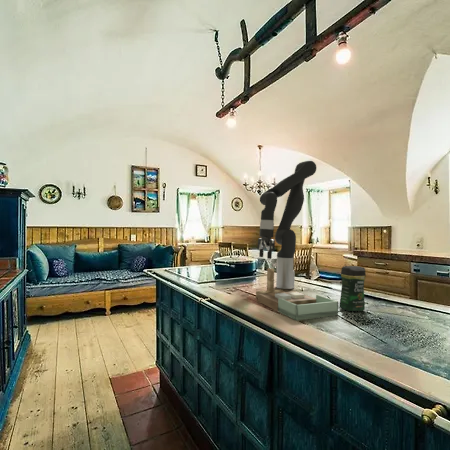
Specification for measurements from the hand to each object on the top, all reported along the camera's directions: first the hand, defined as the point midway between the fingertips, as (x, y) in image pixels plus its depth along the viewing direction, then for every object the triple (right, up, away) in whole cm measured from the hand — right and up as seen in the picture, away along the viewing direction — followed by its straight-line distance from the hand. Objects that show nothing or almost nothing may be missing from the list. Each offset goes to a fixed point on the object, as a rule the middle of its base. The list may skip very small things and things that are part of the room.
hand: (265, 257), depth 162 cm
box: (+11, -17, -44) cm, 49 cm away
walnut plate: (+5, -17, -31) cm, 36 cm away
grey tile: (+3, -14, -34) cm, 37 cm away
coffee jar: (+32, -18, -37) cm, 52 cm away
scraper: (0, -17, -18) cm, 25 cm away
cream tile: (+10, -14, -32) cm, 36 cm away
